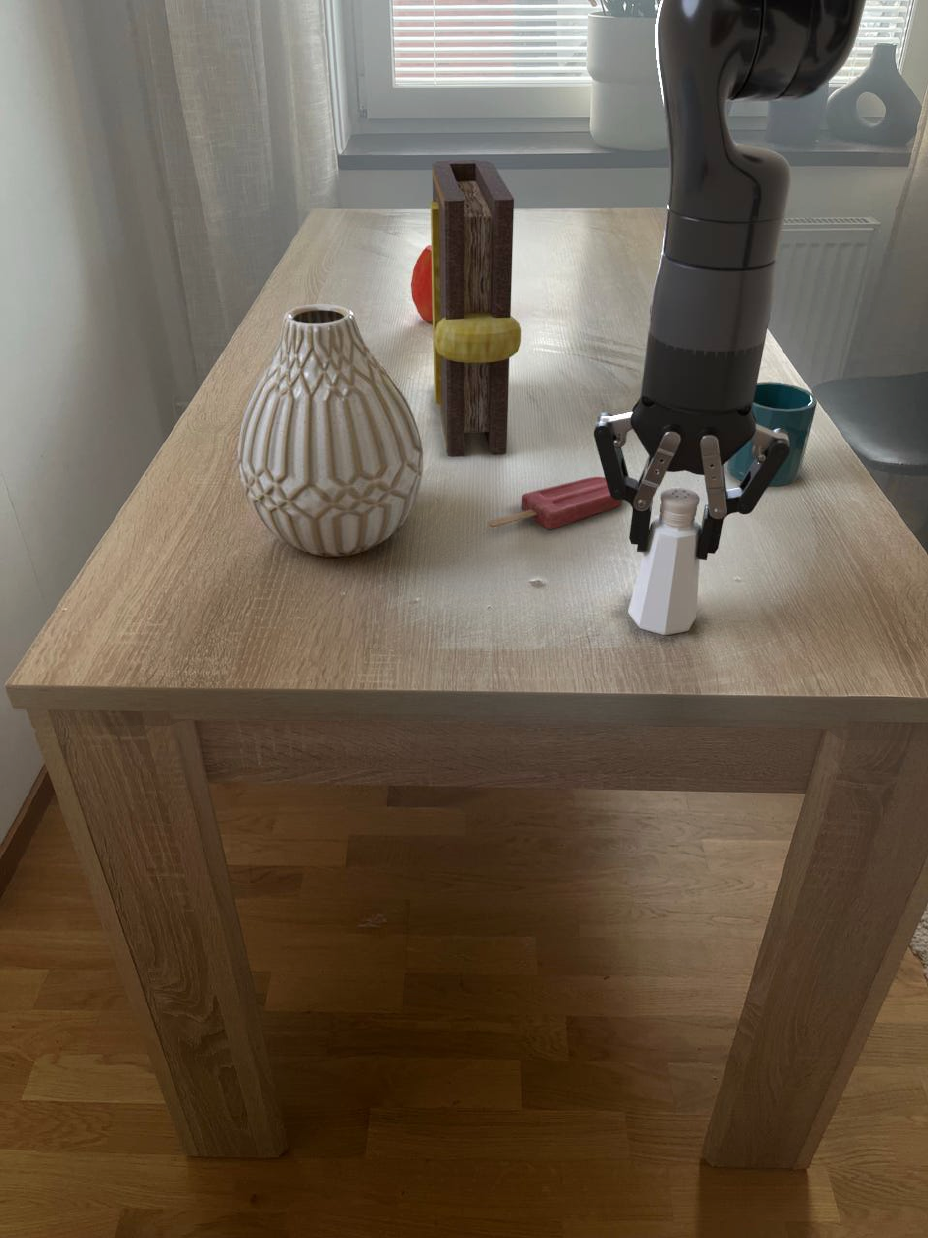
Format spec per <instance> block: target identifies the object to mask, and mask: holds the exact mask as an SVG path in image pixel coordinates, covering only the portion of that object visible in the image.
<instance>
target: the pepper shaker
mask: <svg viewBox="0 0 928 1238" xmlns="http://www.w3.org/2000/svg"><path fill="white" fill-rule="evenodd" d="M700 499H701V498H700V496H699V494H698V493H697V492H696V491H694V490H693V489H691V488H687V487H682V486H674V487H669V488H665V489H664V490H663V491H662V492H661V493H660V506H659V515H656V517H655V518H654V519H653V521H652V522H650V527H649V534H648V541H647V549H646V553H643V552H642V555H641V559H640V563H639V568H638V571H637V575H636V578H635V579H636V580H635V584H634V587H633V591H632V593H631V594H632V595H631V599H630V602H629V606H628V610H627V613H628V615H629V616H630V617H631V619H632V621H633V622H634V623H635V624H636V626H637V627H638V628H639V629H641V630H643V631H648V632H651V633H654V634H658V635H662V636H669V635H674V634H675V635H676V634H679V633H684V632H688V631H689V630H690V629H691V627H692V625H693V623H694V622H695V620H696V619H697V615H698V595H699V591H698V590H699V577H700V576H699V575H700V561H701V559H697V555H698V549H699V542H700V536H701V525H700V524H699V523H698V522H697V521H696V516H697V511H698V505H699V503H700Z"/></svg>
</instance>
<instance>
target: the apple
mask: <svg viewBox="0 0 928 1238" xmlns="http://www.w3.org/2000/svg"><path fill="white" fill-rule="evenodd" d="M410 291H411V298H412V302H413V304H414V306H415V309H416V311H417V313H418V315H419V316H420V317H421V319H422V320H423V321H426V322H428V323H431V324H433V295H432V244H428V245H426V247H424V249H423V250H422V251H421V253H420V255H419V256H418V258H417V260H416V262H415V265H414V266H413V269H412V275H411V281H410Z"/></svg>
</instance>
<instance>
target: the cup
mask: <svg viewBox="0 0 928 1238" xmlns="http://www.w3.org/2000/svg"><path fill="white" fill-rule="evenodd" d="M817 400H818V399H817V397H816V395H815V394H813V393H812V392H810V391H809V390H808V389H805V388H802V387H800V386H798V385H793V384H789V383H784V382H773V381H765V382H764V381H761V382H757V385H756V390H755V395H754V401H753V406H752V410H753V413H754V416H755V419H756V424H758V425H760V426H763V427H765V428H767V429H770V430H772V431H774V430H776V429H784V430H785V431H786V432H787V433H788V438H789V445H790V446H789V447H790V453H789V455H788V457H787V458H786V460H785V461H784V463H783V464H782V466H781V467H780V469H779V470H778V472H777V474H776V475H775V477H774V478H773V480H772V481H771V483H770V484H769V486H768V487H781V486H786V485H790V484H792V483H794V482H796V481H797V480H798V478H799V476H800V472H801V470H802V468H803V467H802V466H803V462H804V460H805V459H804V458H805V455H806V450H807V445H808V441H809V438H810V433H811V429H812V425H813V420H814V418H815V417H814V416H815V412H816V408H817V404H818V401H817ZM753 446H754V443H753V442H752V441H751V440H750V441H749V442H748V443H747V444H745V445H744V446H743V447H742V448H741V449H740V450H739V451H738V452H737V453H736V454H735V455H733V456H732V457H731V458H730V459H729V460H728V461H727V462H726V470H727V471H728V473H729V474H730V475H731V476H733V477H734V478H735V479H737V480H739V481H740V482H741V481H742V479H743V478H744V476H745V475H746V473H747V471H748V470H749V468H750V466H751V465H752V463H753V462H754V460H755V459H754V457H753Z"/></svg>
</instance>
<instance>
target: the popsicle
mask: <svg viewBox="0 0 928 1238" xmlns="http://www.w3.org/2000/svg"><path fill="white" fill-rule="evenodd" d="M622 502H623V500H614V499H613V498H612V497H611V496H610V493H609V489H608V485H607V482H606V478H605V476H593V477H587V478H583V479H579V480H574V481H569V482H566V483H562V484H558V485H554V486H551V487H546V488H542V489H538V490H534V491H529V492H525V493H523V494H522V495H521V511H519V512H517V513H513V514H510V515H507V516H504V517H500V518H497V519H496V518H495V519H493V520H490V521H489V522H488V524H487V525H488V527H490V528H497V527H501V526H504V525H508V524H512V523H515V522H518V521H522V520H525V519H528V518H531V519H533V520H534V521H536V522H537V523H538V524H540V526H542V527H543V528H545V529H546V530H553V529H556V528H559V527H561V526H565V525H567V524H570V523H573V522H576V521H579V520H582V519H585V518H587V517H588V518H589V517H591V516H593V515H596V514H599V513H603V512H606V511H607V510H608V511H609V510H611V509H615V508H616V507H618V506H619V505H621V504H622Z"/></svg>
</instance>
